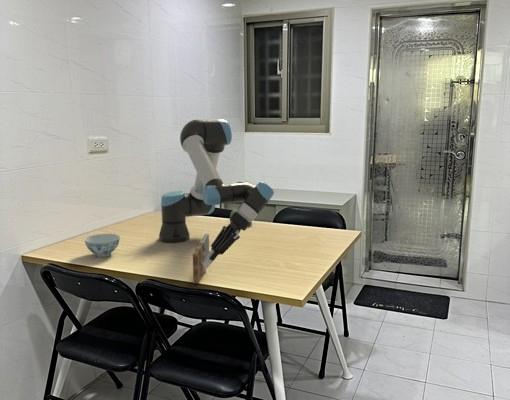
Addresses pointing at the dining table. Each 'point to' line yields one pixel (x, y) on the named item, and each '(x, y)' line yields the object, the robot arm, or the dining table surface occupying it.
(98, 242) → the chinaware
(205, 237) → the hinge panel
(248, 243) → the dining table surface
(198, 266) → the brown flat wooden board
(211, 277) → the dining table surface
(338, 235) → the dining table surface
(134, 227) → the dining table surface
